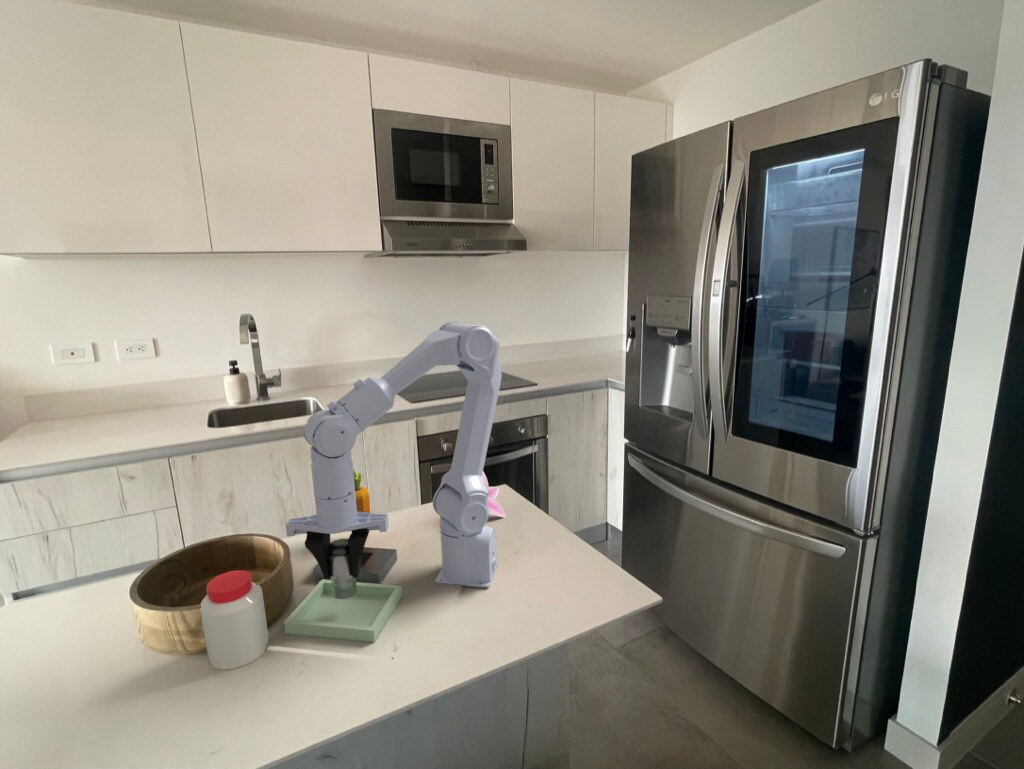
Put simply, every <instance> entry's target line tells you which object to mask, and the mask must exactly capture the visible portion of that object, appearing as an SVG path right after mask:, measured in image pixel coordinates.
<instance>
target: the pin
mask: <svg viewBox="0 0 1024 769" xmlns="http://www.w3.org/2000/svg"><path fill="white" fill-rule="evenodd" d="M348 539H349V538H338V539H336V540H332V542H331V541H330V544H329V545H328V551H329V561H330V572H331V582H332V593H333V597H334V598H337V599H346V598H349V597H351V596H353V595H354V594H355V593H356V592H357V584H356V578H353V575H352V559H351V554H350V549H349V545H348Z"/></svg>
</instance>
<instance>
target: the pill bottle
mask: <svg viewBox="0 0 1024 769" xmlns="http://www.w3.org/2000/svg"><path fill="white" fill-rule="evenodd" d="M256 584H257V583H255V582H254V581H252V575H251V572H249V571H247V570H241V569H238V570H237V569H236V570H230V571H225V573H224V572H223V573H221V574H219V575H216V576H215V577H213V578H212V579H211V580H209V582H208V583H207V584H206V593H207V595H205V596H204V598H203V599H202V601H201V603H200V605H201V608H200V607H199V612H200V617H201V618H200V619H201V624H202V630H203V636H204V642H205V648H206V655H207V662H208V664H209V665H210V666H211V668H214V669H216V670H220V671H221V670H223V671H224V670H225V671H227V670H229V671H230V670H235V669H239V668H242V667H244V666H247V665H248V664H251V663H253V662H254V661H256V660H257V659H258V658H259V657H260V658H261V656H262V655H263V654H264V652H266V651H267V648H268V647H269V645H268V643H269V641H270V640H269V632H268V625H267V616H266V610H265V602H264V595H263V589H262V587H261V585H259V584H258V585H256ZM200 605H199V606H200Z"/></svg>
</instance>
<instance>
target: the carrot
mask: <svg viewBox="0 0 1024 769" xmlns="http://www.w3.org/2000/svg"><path fill="white" fill-rule="evenodd" d="M353 473H354V485H355V496H356V507H357V512H365V513H371V505H370V504H371V503H370V502H371V501H370V493H369V490H368V488H367V487H364V486H361V482H362V475H363V474H362V473H361V472H358V474H357V471H356V469H354V468H353Z"/></svg>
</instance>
